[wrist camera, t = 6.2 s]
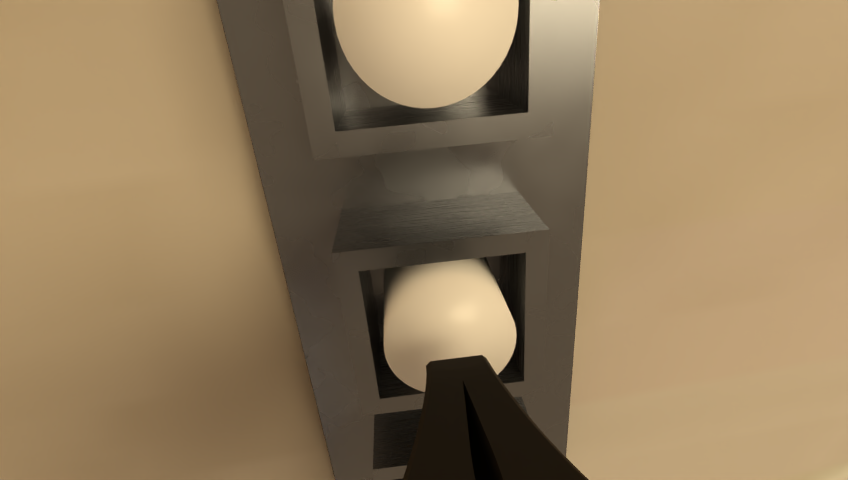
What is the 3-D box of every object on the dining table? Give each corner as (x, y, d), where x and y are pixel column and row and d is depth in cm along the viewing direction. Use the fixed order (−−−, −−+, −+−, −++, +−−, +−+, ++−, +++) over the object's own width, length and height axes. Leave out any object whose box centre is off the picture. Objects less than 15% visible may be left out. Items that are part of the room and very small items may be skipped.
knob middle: (490, 316, 16) (516, 386, 13) (390, 328, 16) (391, 401, 13) (487, 224, 15) (516, 278, 11) (377, 236, 14) (375, 294, 11)
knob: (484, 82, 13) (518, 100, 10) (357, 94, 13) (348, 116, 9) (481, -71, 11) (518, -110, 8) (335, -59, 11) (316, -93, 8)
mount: (555, 472, 22) (590, 561, 18) (347, 499, 21) (339, 595, 18) (596, -177, 11) (694, -273, 8) (193, -146, 11) (100, -232, 7)
